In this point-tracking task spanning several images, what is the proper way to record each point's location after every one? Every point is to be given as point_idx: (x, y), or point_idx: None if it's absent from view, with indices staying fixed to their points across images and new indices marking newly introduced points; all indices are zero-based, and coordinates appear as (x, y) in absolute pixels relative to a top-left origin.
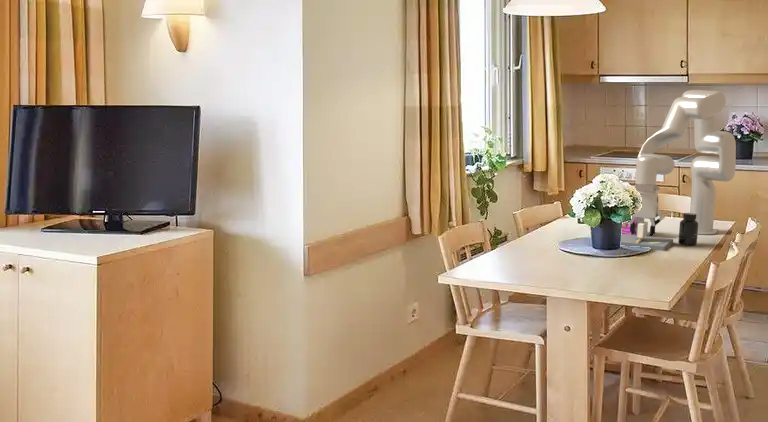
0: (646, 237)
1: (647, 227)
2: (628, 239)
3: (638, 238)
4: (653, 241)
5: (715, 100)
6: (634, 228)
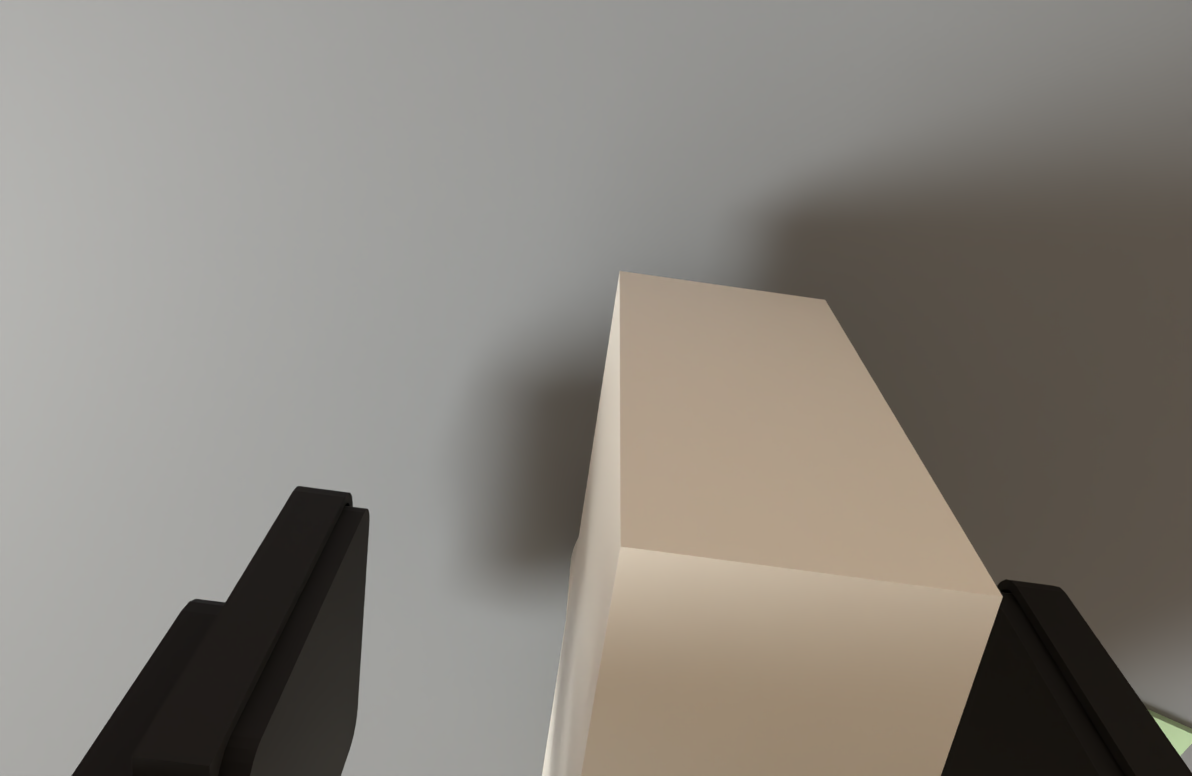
0: (782, 20)
1: (888, 452)
2: None
3: (527, 360)
4: None
5: None
6: (312, 740)
